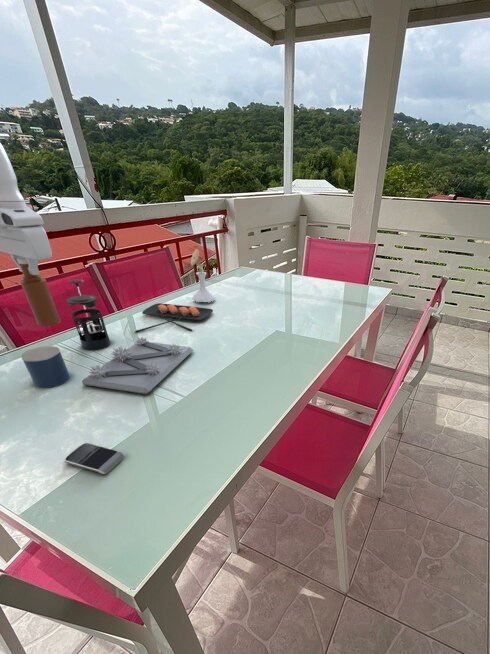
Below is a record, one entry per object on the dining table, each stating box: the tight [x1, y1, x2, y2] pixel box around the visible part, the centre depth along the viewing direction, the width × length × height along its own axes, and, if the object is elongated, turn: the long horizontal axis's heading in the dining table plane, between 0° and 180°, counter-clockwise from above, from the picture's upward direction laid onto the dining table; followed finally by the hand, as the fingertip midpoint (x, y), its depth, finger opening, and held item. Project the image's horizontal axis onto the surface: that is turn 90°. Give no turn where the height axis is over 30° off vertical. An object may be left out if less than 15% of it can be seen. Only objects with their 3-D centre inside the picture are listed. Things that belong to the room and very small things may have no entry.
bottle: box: [17, 257, 61, 327], centre depth 91 cm, size 6×6×18 cm
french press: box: [66, 278, 112, 351], centre depth 114 cm, size 12×9×23 cm
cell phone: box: [63, 442, 124, 475], centre depth 73 cm, size 6×11×1 cm, turn 73°
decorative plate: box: [81, 337, 194, 395], centre depth 106 cm, size 30×22×7 cm
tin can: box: [20, 345, 71, 389], centre depth 97 cm, size 9×9×9 cm
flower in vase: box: [190, 248, 217, 304], centre depth 158 cm, size 13×11×25 cm
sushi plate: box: [135, 303, 214, 333], centre depth 141 cm, size 29×30×4 cm
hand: (30, 273), depth 88 cm, fingers closed on bottle, 3 cm apart
